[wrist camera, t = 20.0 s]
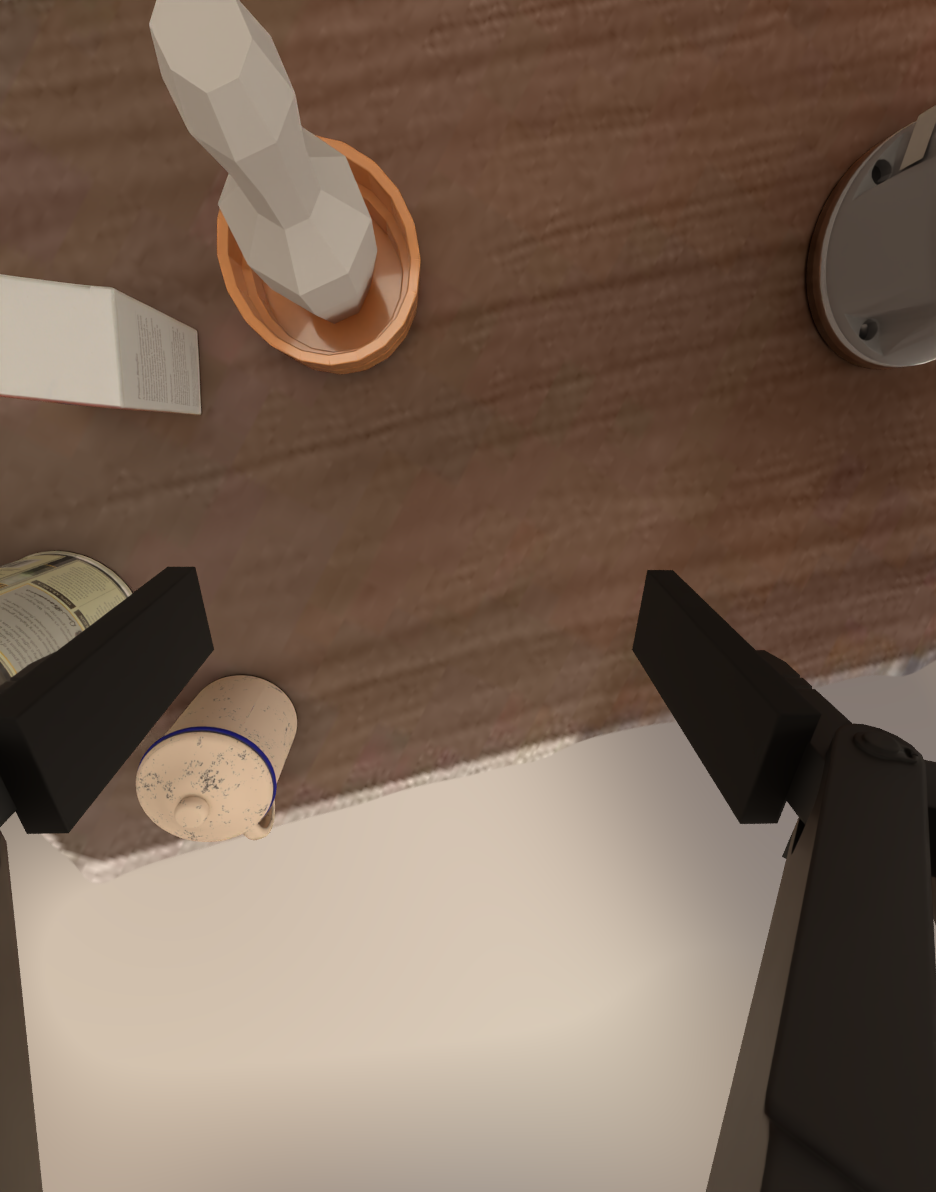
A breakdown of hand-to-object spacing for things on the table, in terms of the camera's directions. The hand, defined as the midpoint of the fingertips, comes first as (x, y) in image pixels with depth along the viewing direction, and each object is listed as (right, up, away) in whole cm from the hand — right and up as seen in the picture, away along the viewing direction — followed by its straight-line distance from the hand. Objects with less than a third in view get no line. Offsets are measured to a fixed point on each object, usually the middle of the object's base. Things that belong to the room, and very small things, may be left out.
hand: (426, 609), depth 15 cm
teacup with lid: (-17, -11, +29) cm, 35 cm away
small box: (-21, +16, +19) cm, 33 cm away
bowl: (-8, +21, +19) cm, 29 cm away
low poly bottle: (-8, +21, +19) cm, 29 cm away
